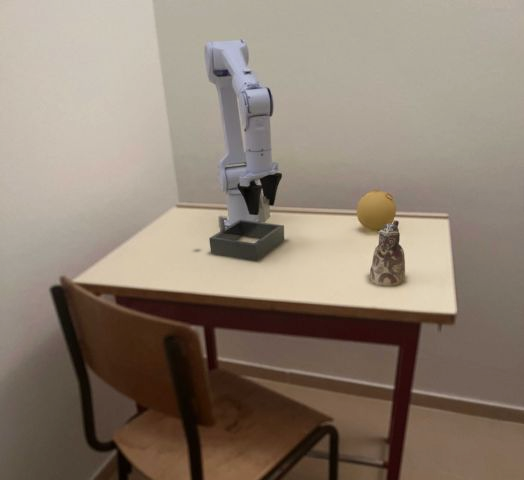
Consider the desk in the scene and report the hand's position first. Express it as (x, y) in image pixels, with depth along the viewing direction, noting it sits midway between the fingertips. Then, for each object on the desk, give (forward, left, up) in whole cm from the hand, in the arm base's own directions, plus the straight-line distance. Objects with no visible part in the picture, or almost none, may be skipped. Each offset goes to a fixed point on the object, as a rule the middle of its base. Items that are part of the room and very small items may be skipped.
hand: (261, 209), depth 122 cm
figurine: (+5, +32, -10) cm, 34 cm away
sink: (0, -5, -10) cm, 11 cm away
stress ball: (-23, +20, -10) cm, 33 cm away
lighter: (0, 0, -3) cm, 3 cm away
